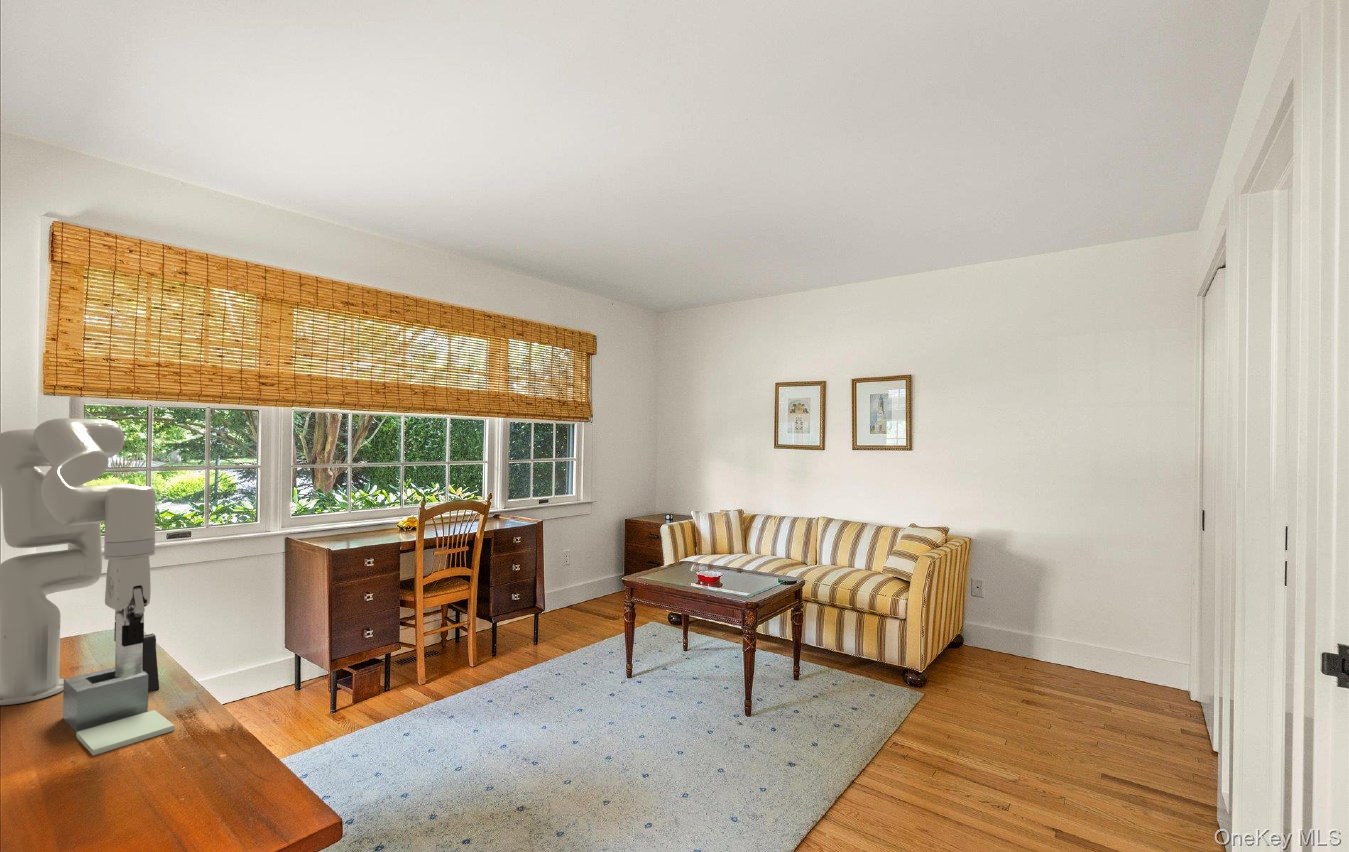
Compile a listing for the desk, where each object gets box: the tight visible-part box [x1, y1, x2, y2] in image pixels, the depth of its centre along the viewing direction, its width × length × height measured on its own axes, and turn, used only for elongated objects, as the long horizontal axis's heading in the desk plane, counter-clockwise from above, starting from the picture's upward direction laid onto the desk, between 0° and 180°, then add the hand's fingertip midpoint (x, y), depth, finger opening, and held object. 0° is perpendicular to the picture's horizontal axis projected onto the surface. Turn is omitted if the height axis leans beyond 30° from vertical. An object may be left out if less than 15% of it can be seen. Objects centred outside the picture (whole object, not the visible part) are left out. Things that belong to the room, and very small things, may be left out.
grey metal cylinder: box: [114, 611, 143, 677], centre depth 121 cm, size 4×4×12 cm
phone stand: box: [142, 633, 160, 693], centre depth 143 cm, size 9×6×12 cm, turn 54°
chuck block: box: [62, 667, 149, 733], centre depth 129 cm, size 11×11×8 cm
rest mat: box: [75, 709, 176, 756], centre depth 121 cm, size 12×12×1 cm
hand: (129, 641), depth 121 cm, fingers closed on grey metal cylinder, 4 cm apart
